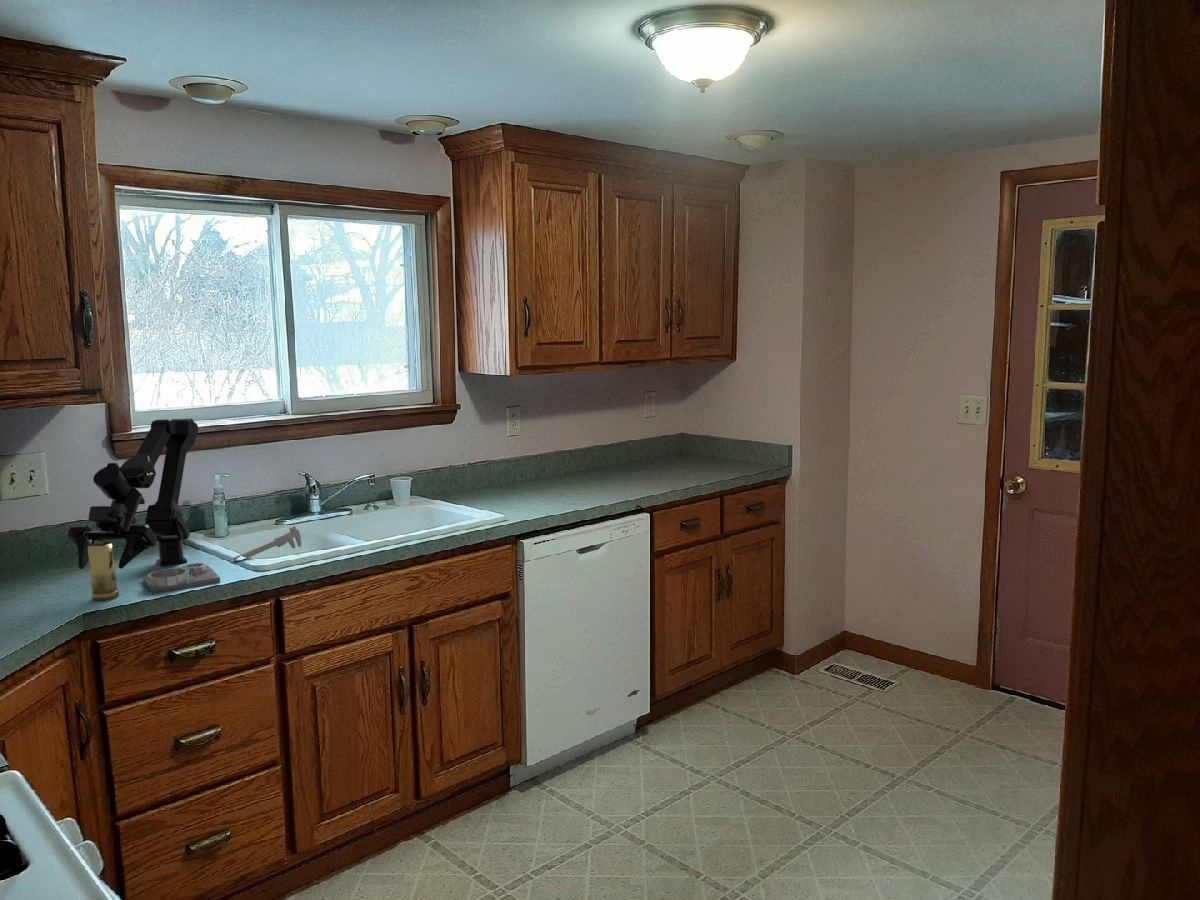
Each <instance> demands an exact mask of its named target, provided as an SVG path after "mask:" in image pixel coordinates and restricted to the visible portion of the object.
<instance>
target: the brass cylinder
mask: <svg viewBox="0 0 1200 900" xmlns="http://www.w3.org/2000/svg"><path fill="white" fill-rule="evenodd" d="M93 542H94V544H90V545H88V546H87V547H88V556H89V561H88V564H89V572H90V580H91V588H92V592H91V598H92V599H93V600H95V601H94V602H97V601H100V602H107V601H106V600H108V601H112V600H111V599H113V600H115V599H114V598H116V599H118V598H119V597H120V593H119V592H120V590H119V588H118V581H117V574H116V563H115V557H114V548H113V545H114V544H113V542H111V541H106V540H105V539H98V540H94V541H93ZM118 596H119V597H118ZM117 597H118V598H117ZM93 600H92V601H93Z"/></svg>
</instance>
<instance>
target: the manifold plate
mask: <svg viewBox="0 0 1200 900" xmlns="http://www.w3.org/2000/svg"><path fill="white" fill-rule="evenodd" d="M142 582H143V584H144V583H145V584H144V585H145V587H146V586H147V587H146V588H147V590H148V591H149V593H150V594H151V593H152V594H151V595H155V594H154V593H156V594H161V593H166V592H171V591H177V590H183V589H188V588H189V589H190V588H193V587H201V586H205V585H206V586H207V585H210V584H216V583H221V576H219V575H218V574H217V573H216V572H215V570H213V569H212V568H211V567H210V566H209V565H207V563H206V562H192V563H188V564H185V565H183V566H182V567H168V568H164V569H159V570H154V571H152V572H149V573H148V574H147V575H145V576H142Z"/></svg>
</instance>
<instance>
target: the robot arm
mask: <svg viewBox="0 0 1200 900" xmlns="http://www.w3.org/2000/svg"><path fill="white" fill-rule="evenodd" d="M198 433H199V425H198V423H196V422H195V421H194V419H192V418H170V419H167V418H166V419H155V420H152V422H151V423H150V429H149V431H148V433H146V436H145V438H144V439H143V440H142V443H141V444H140V446H139V448H138V450H137V452H136V453H135V454H134V455H133V456H132V457H131V458H129V459H127V460H125V461H124V462H123V464H121V465H120V466H119V465H118V463H117V462H108V463H107V465H106V466H105V467H103V468H101V469H99V470H98V471H97V472H96V473H94V476H93V477H92V478H93V483H94V484H95V485H96V486H97V487H98V489H99V490H100V491H101V492H102V493H103V494H104V496H105V497H106V498H107V499H110V500H111V503H110V504H109V506H108V505H102V506H101V505H97V506H96V505H94V506H93V505H91V506H90V507H89V513H88V517H87V518H88V521H89V522H94V523H95V526H96V528H98V529H100V530H92V528H90V527H89V525H73V526H70V527H69V529H68V531H67V533H66V536H67V537H68V538H69V540H70V541H71V542H72V543H73V544H74V545H75V546H77V551H78V553H77V554H78V568H79V569H80V570H84V568H85V567H86V565H87V564H88V563H89V556H88V547H87V546H88V545H90V544H94V542H93V541H94V540H98V539H105V540H107V541H109V540H112V541H119V540H120V541H123V540H125V546H124V548H123V551H122V554H121V556H120V559H119V561H118V568H119V570H121V569H124V568H125V567H126V566H127V565H128V564H129V563H130V562H131V561H133V560H134V558H136V557H137V556H139V554H141V553H143V551H145V550H149V548H150V547H155V546H156V543H157V549H158V559H156V563H157V564H158V565H159V566H160V567H164V566H165V567H166V566H172V565H177V564H182V563H183V564H185V563H187V562H188V559H187V558H186V557H185V556H184V549H183V541H185V540H188V539H189V538H190V534H191V529H190V527H189V526H188V524H186V522H185V521H184V520H183V518H184V514H183V511H182V509H181V508H180V505H179V498H180V493H181V488H182V482H183V475H184V470H185V462H186V457H187V452H188V451H190V449H191V448H192V447H193V446H194V445H195V442H196V439H197V436H198ZM164 449H166V451H165V455H164V461H163V468H162V472H161V473H162V474H161V478H160V479H161V480H160V485H159V491H158V495H157V500H156V502H155V503H154V504H149V505H148V507H147V508H146V510H147V511H146V517H145V518H144V519H145V520H144V521H145V522H144V524H136V523H137V519H136V517H135V516H136V513H137V512H138V508H139V505H145V504H146V501H145V498H144V497H143V494H142V492H140V491H139V490H138V489H150V488H151V486H152V485H153V482H155V477H156V475H157V472H156V469H155V465H156V464H157V461H158V459H159V458H160V456H161V454H162V453H163V451H164ZM132 524H133V525H132Z"/></svg>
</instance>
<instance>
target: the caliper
mask: <svg viewBox="0 0 1200 900" xmlns="http://www.w3.org/2000/svg"><path fill="white" fill-rule="evenodd" d="M288 528H289V531H287V532H285V533H283V534H281V535H277V536H276V537H274V539H272V540H271V541H268V542H266V543H263V544H262V545H258V546H257V547H255V548H252V549H249V550H247V551H245V552H242V553H240V554H238V555H236V556H233V558H232V559H231V560H229V563H230V564H234V563H236V562H235V561H236V559H237V558H239V557H240V556H243V557H246V558H247V559H249V558H252V557H253V556H256V555H258V554H260V553H262V552H264V551H268V550H269V549H272V548H273V547H274V548H275V547H277V548H281V547H282V546H285V545H286V544H287V543H288V544H289V545H290V548H292V549H296V544H297V547H298V548H300V547H302V536H301V533H300V530H299V529H298V528H296V526H295V525H293V526H292V527H288ZM294 540H295V541H294ZM295 542H296V543H295Z"/></svg>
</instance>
